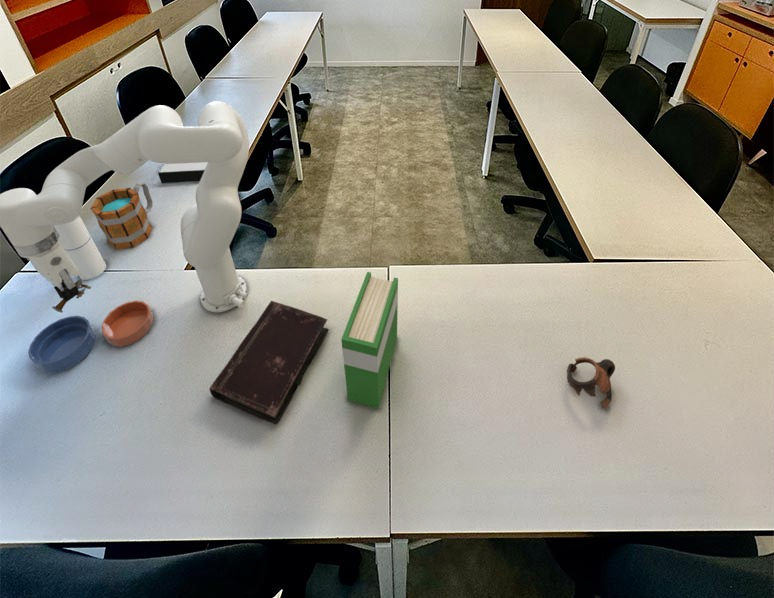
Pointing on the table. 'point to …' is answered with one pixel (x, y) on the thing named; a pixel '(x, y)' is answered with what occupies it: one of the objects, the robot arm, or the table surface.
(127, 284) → the table surface
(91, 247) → the cylindrical container
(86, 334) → the bowl
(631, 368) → the table surface
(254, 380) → the diary
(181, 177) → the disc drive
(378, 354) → the hardback book
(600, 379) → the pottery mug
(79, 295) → the wooden post with brackets
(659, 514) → the table surface
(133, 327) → the shallow terracotta dish
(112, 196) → the mug
